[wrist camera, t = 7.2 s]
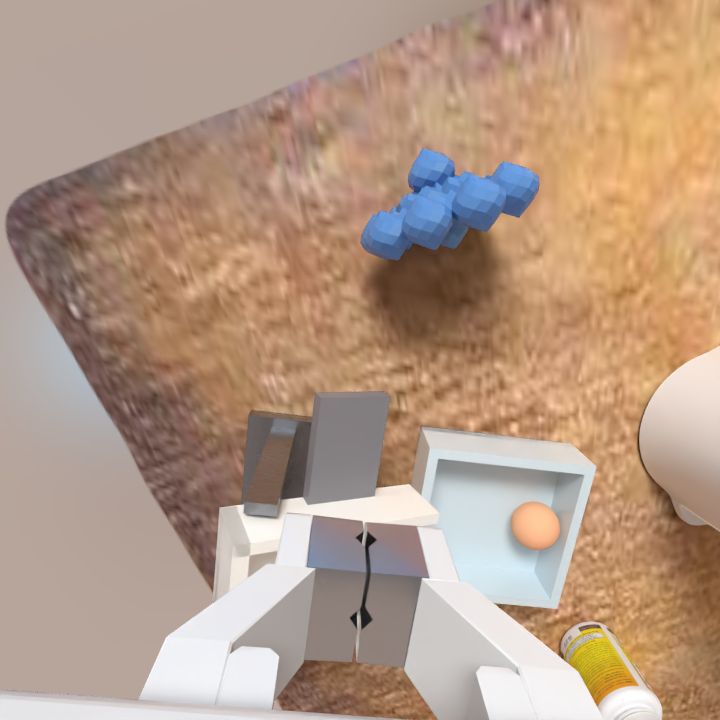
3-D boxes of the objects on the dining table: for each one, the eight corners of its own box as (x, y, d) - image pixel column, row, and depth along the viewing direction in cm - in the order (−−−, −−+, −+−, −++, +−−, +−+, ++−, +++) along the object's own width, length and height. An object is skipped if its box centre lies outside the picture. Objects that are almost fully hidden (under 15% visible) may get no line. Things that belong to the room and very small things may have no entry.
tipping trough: (425, 390, 35) (459, 410, 32) (391, 585, 39) (417, 622, 36) (227, 394, 29) (243, 420, 25) (211, 626, 33) (222, 676, 29)
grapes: (484, 132, 37) (549, 85, 25) (508, 220, 38) (580, 213, 27) (339, 189, 37) (338, 169, 26) (370, 273, 39) (382, 289, 27)
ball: (575, 517, 40) (534, 519, 39) (564, 559, 41) (523, 562, 40) (545, 492, 44) (507, 493, 43) (535, 531, 45) (498, 532, 44)
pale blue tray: (571, 443, 43) (596, 466, 39) (537, 573, 47) (557, 608, 42) (421, 426, 42) (430, 448, 38) (397, 560, 46) (402, 594, 41)
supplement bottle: (547, 651, 49) (598, 757, 39) (578, 609, 48) (639, 707, 38) (592, 671, 50) (654, 779, 40) (623, 630, 49) (695, 731, 39)
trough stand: (321, 418, 42) (311, 496, 29) (305, 548, 45) (290, 670, 33) (251, 410, 42) (211, 486, 29) (239, 542, 45) (199, 663, 32)
